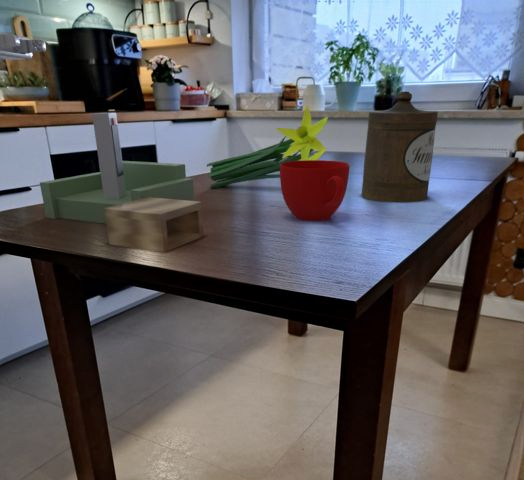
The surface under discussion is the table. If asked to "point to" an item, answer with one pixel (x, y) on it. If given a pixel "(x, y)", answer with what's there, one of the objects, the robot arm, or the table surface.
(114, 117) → the grey rectangular block
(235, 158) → the daffodil flowers
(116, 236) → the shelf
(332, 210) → the ceramic cup
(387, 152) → the wooden container
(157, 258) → the table surface
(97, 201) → the sofa
